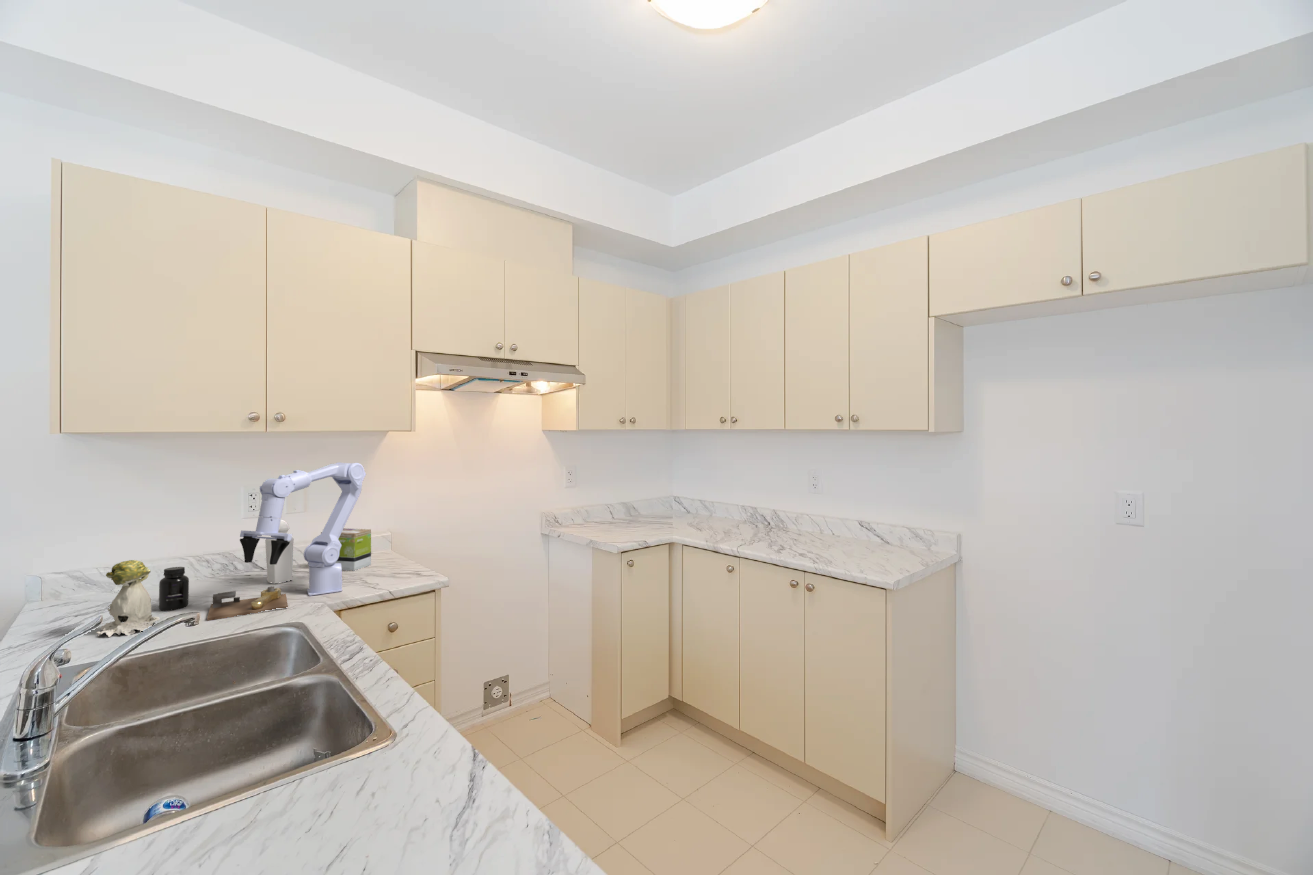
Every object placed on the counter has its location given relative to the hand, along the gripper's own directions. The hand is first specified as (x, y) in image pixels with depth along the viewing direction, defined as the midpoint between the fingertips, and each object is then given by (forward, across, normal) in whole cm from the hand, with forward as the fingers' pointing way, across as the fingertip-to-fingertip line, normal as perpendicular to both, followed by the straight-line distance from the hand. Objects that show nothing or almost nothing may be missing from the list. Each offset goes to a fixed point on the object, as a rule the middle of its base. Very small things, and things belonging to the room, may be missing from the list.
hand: (260, 563), depth 169 cm
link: (+12, 0, +6) cm, 13 cm away
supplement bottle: (+15, -26, +4) cm, 30 cm away
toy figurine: (+19, -22, -14) cm, 32 cm away
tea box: (+4, -3, +54) cm, 54 cm away
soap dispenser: (+9, -15, +34) cm, 38 cm away
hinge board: (+13, -4, +4) cm, 14 cm away
